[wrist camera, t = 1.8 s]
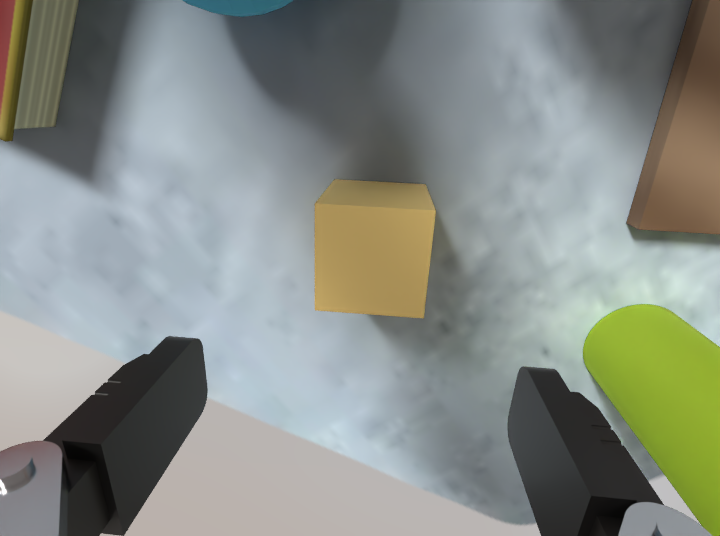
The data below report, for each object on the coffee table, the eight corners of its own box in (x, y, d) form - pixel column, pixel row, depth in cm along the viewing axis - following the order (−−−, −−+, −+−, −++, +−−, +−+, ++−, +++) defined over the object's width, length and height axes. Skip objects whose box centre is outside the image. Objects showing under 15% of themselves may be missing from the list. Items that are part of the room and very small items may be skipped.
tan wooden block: (334, 179, 22) (314, 203, 17) (425, 184, 22) (436, 210, 17) (333, 263, 24) (314, 310, 19) (416, 269, 24) (423, 318, 18)
